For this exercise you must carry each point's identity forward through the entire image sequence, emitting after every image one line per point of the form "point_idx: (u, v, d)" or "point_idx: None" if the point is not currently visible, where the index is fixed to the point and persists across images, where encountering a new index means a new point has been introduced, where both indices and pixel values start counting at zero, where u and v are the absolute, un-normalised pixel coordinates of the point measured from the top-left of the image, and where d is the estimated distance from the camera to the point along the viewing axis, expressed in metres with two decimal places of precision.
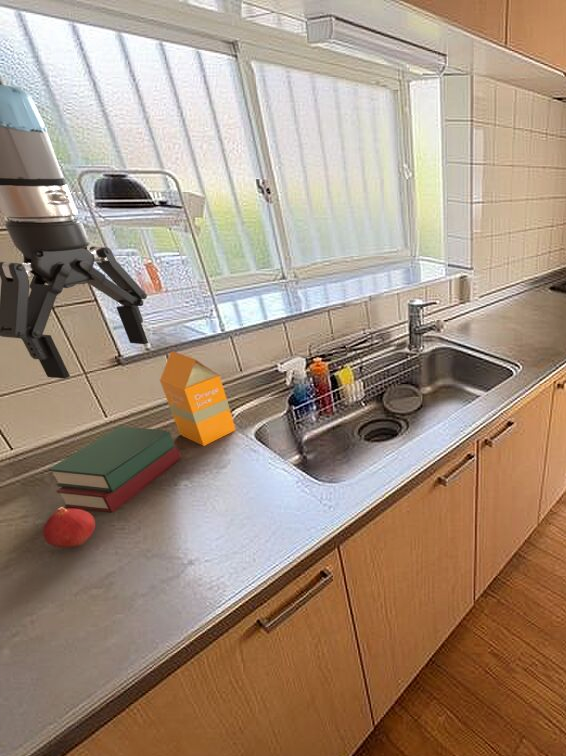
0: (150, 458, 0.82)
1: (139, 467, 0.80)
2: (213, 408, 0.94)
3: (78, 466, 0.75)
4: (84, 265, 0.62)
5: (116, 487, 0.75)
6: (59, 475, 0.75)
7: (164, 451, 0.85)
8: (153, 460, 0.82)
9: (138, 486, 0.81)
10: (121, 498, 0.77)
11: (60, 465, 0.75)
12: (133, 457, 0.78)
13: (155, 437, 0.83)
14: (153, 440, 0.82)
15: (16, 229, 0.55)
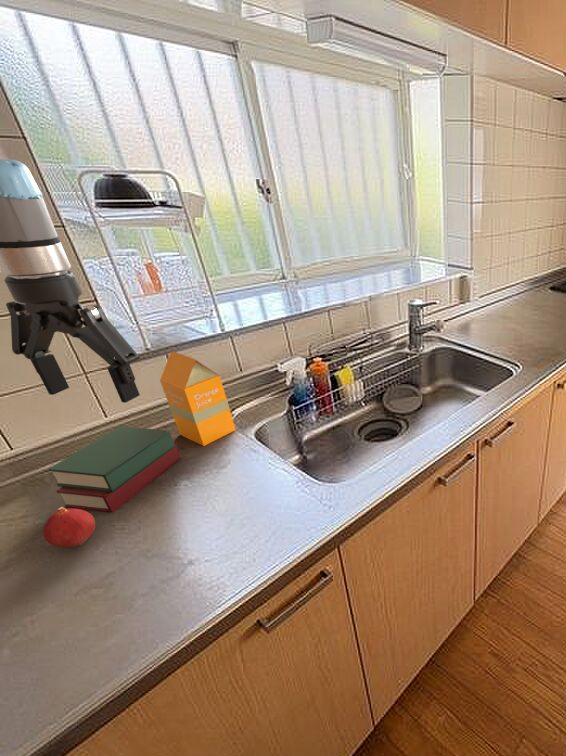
0: (150, 458, 0.82)
1: (139, 467, 0.80)
2: (213, 408, 0.94)
3: (78, 466, 0.75)
4: None
5: (116, 487, 0.75)
6: (59, 475, 0.75)
7: (164, 451, 0.85)
8: (153, 460, 0.82)
9: (138, 486, 0.81)
10: (121, 498, 0.77)
11: (60, 465, 0.75)
12: (133, 457, 0.78)
13: (155, 437, 0.83)
14: (153, 440, 0.82)
15: (65, 281, 0.64)
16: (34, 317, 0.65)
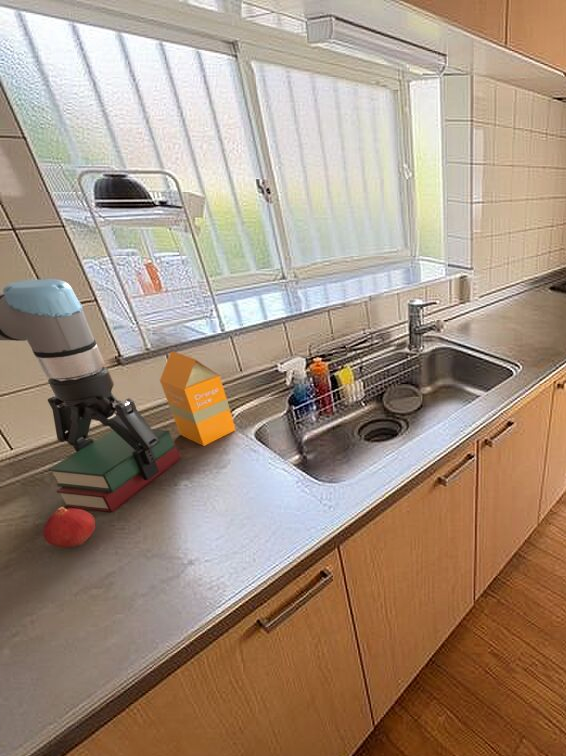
0: None
1: None
2: (213, 408, 0.94)
3: (78, 466, 0.75)
4: None
5: (116, 487, 0.75)
6: (59, 475, 0.75)
7: (164, 451, 0.85)
8: None
9: (138, 486, 0.81)
10: (121, 498, 0.77)
11: (60, 465, 0.75)
12: (133, 457, 0.78)
13: None
14: None
15: (101, 378, 0.73)
16: (72, 409, 0.73)
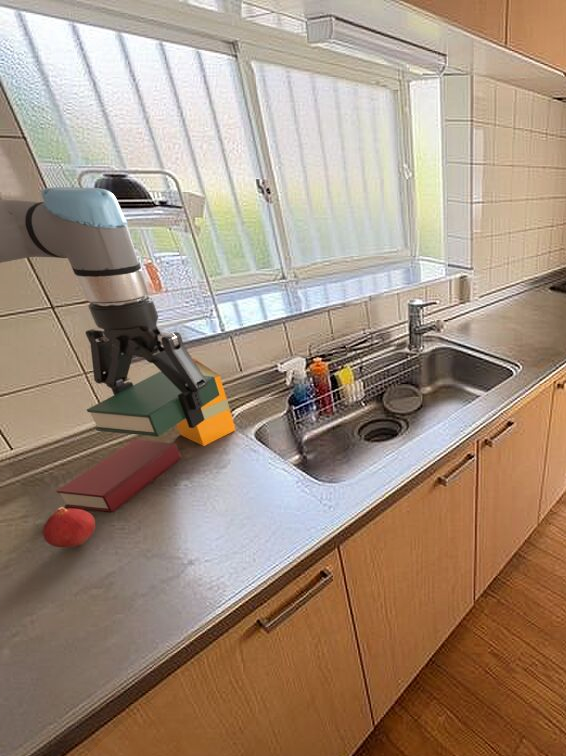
0: None
1: None
2: (213, 408, 0.94)
3: (119, 407, 0.67)
4: None
5: (161, 431, 0.67)
6: (98, 417, 0.67)
7: (209, 398, 0.77)
8: None
9: (138, 486, 0.81)
10: (121, 498, 0.77)
11: (99, 406, 0.67)
12: (178, 400, 0.70)
13: None
14: None
15: (146, 306, 0.65)
16: (113, 342, 0.65)
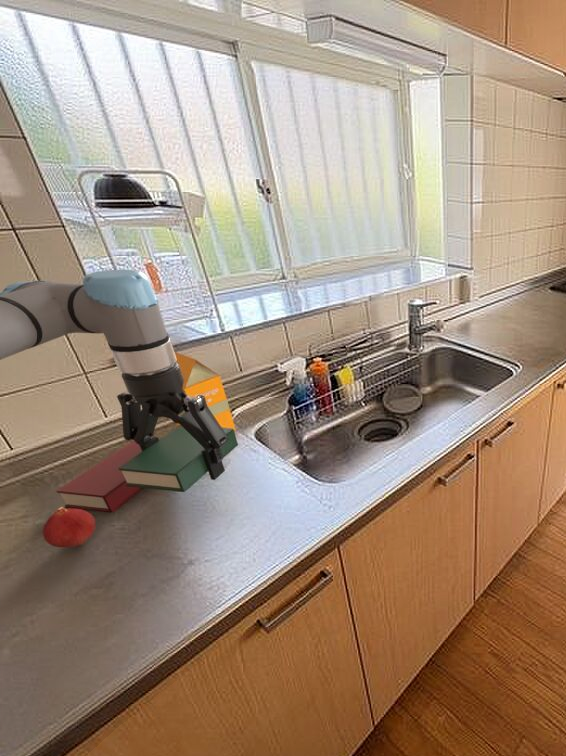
0: None
1: None
2: (213, 408, 0.94)
3: (148, 465, 0.72)
4: None
5: (187, 487, 0.73)
6: (128, 475, 0.72)
7: (228, 450, 0.82)
8: None
9: None
10: (121, 498, 0.77)
11: (129, 464, 0.72)
12: (202, 456, 0.75)
13: None
14: None
15: (174, 373, 0.70)
16: (143, 406, 0.71)
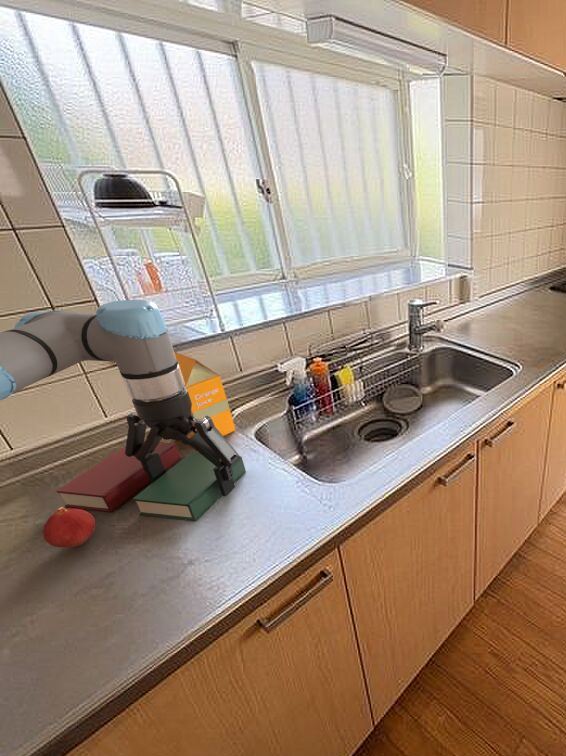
0: None
1: (217, 495, 0.80)
2: (213, 408, 0.94)
3: (161, 495, 0.75)
4: None
5: (198, 516, 0.76)
6: (142, 505, 0.75)
7: (237, 477, 0.85)
8: None
9: (138, 486, 0.81)
10: (121, 498, 0.77)
11: (143, 494, 0.75)
12: (212, 485, 0.79)
13: None
14: None
15: (182, 398, 0.72)
16: (152, 429, 0.73)
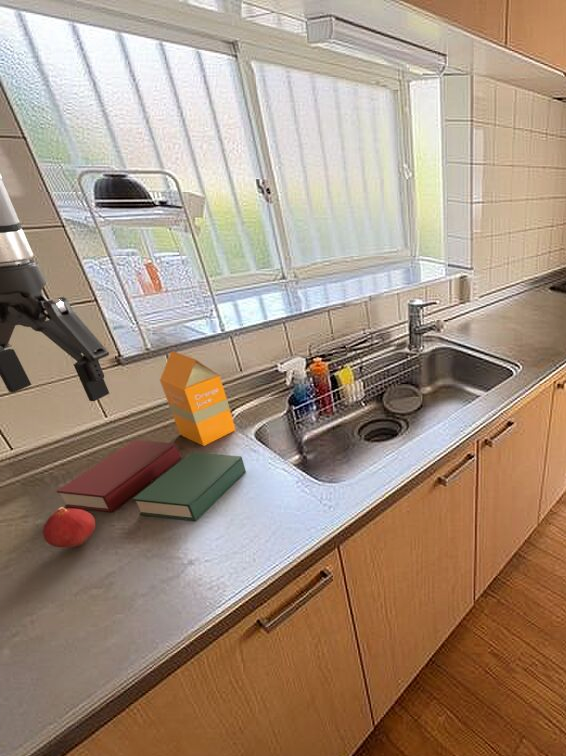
0: (226, 485, 0.82)
1: (217, 495, 0.80)
2: (213, 408, 0.94)
3: (161, 495, 0.75)
4: None
5: (198, 516, 0.76)
6: (142, 505, 0.75)
7: (237, 477, 0.85)
8: (228, 487, 0.83)
9: (138, 486, 0.81)
10: (121, 498, 0.77)
11: (143, 494, 0.75)
12: (212, 485, 0.79)
13: (229, 463, 0.84)
14: (228, 467, 0.83)
15: (27, 270, 0.60)
16: None
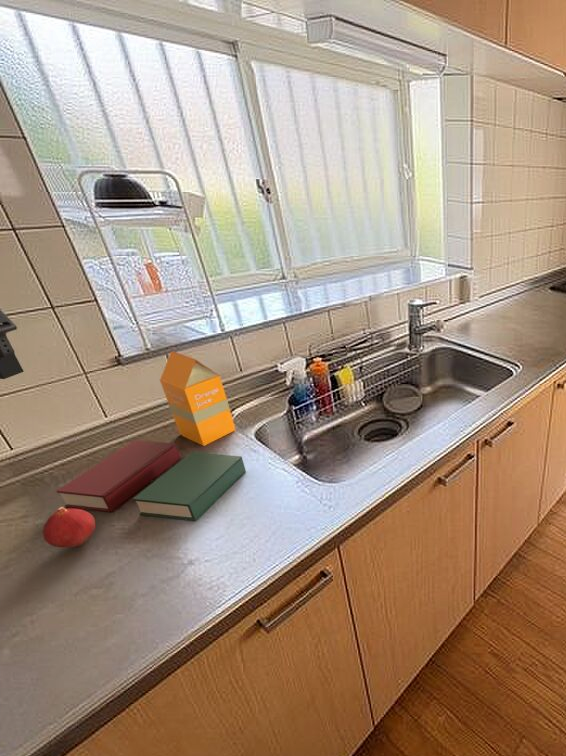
0: (226, 485, 0.82)
1: (217, 495, 0.80)
2: (213, 408, 0.94)
3: (161, 495, 0.75)
4: None
5: (198, 516, 0.76)
6: (142, 505, 0.75)
7: (237, 477, 0.85)
8: (228, 487, 0.83)
9: (138, 486, 0.81)
10: (121, 498, 0.77)
11: (143, 494, 0.75)
12: (212, 485, 0.79)
13: (229, 463, 0.84)
14: (228, 467, 0.83)
15: None
16: None
